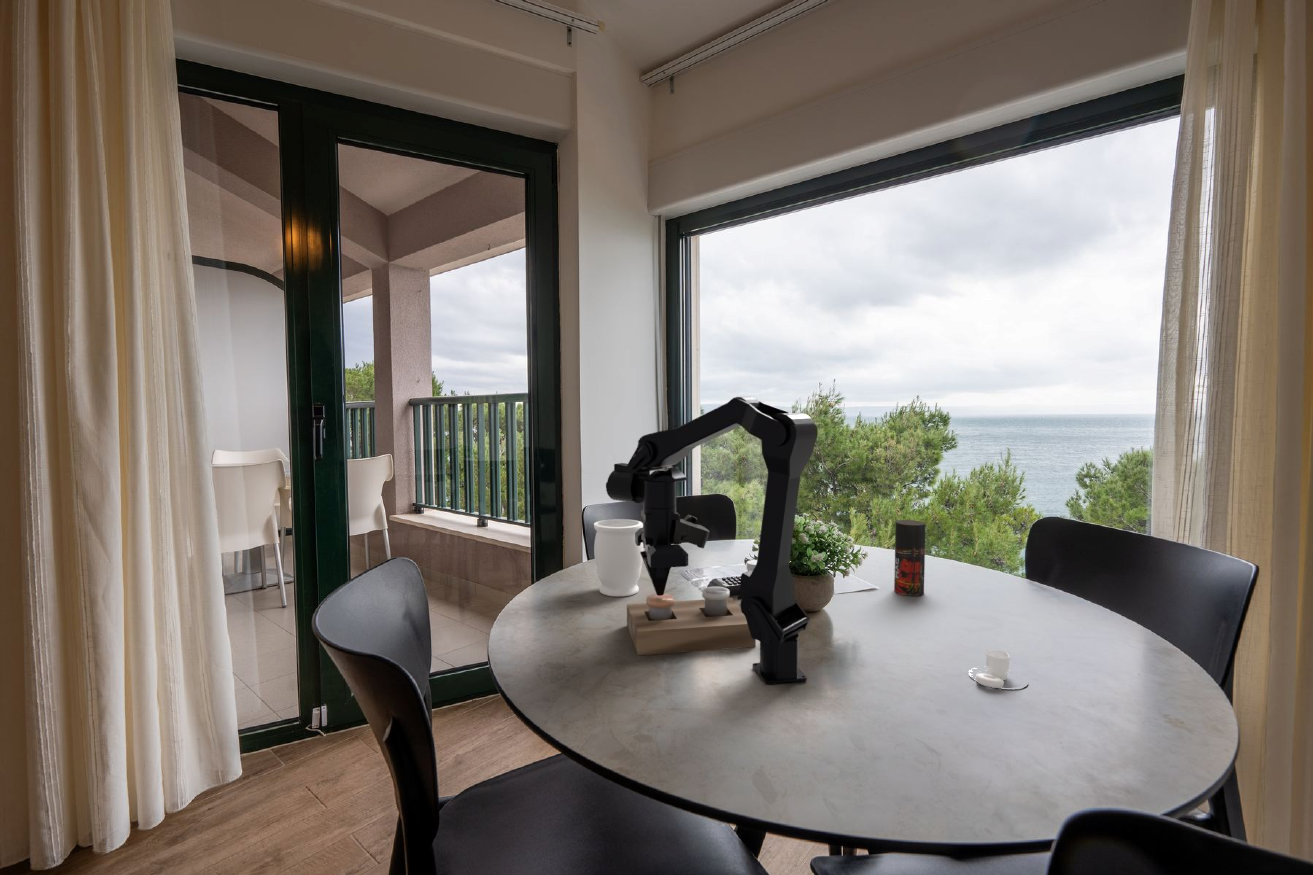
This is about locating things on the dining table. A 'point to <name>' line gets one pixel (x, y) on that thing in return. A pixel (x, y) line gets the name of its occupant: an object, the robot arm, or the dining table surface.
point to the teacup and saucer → (994, 669)
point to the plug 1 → (660, 607)
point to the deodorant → (909, 557)
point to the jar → (618, 556)
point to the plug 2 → (715, 600)
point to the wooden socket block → (688, 629)
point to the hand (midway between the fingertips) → (659, 594)
